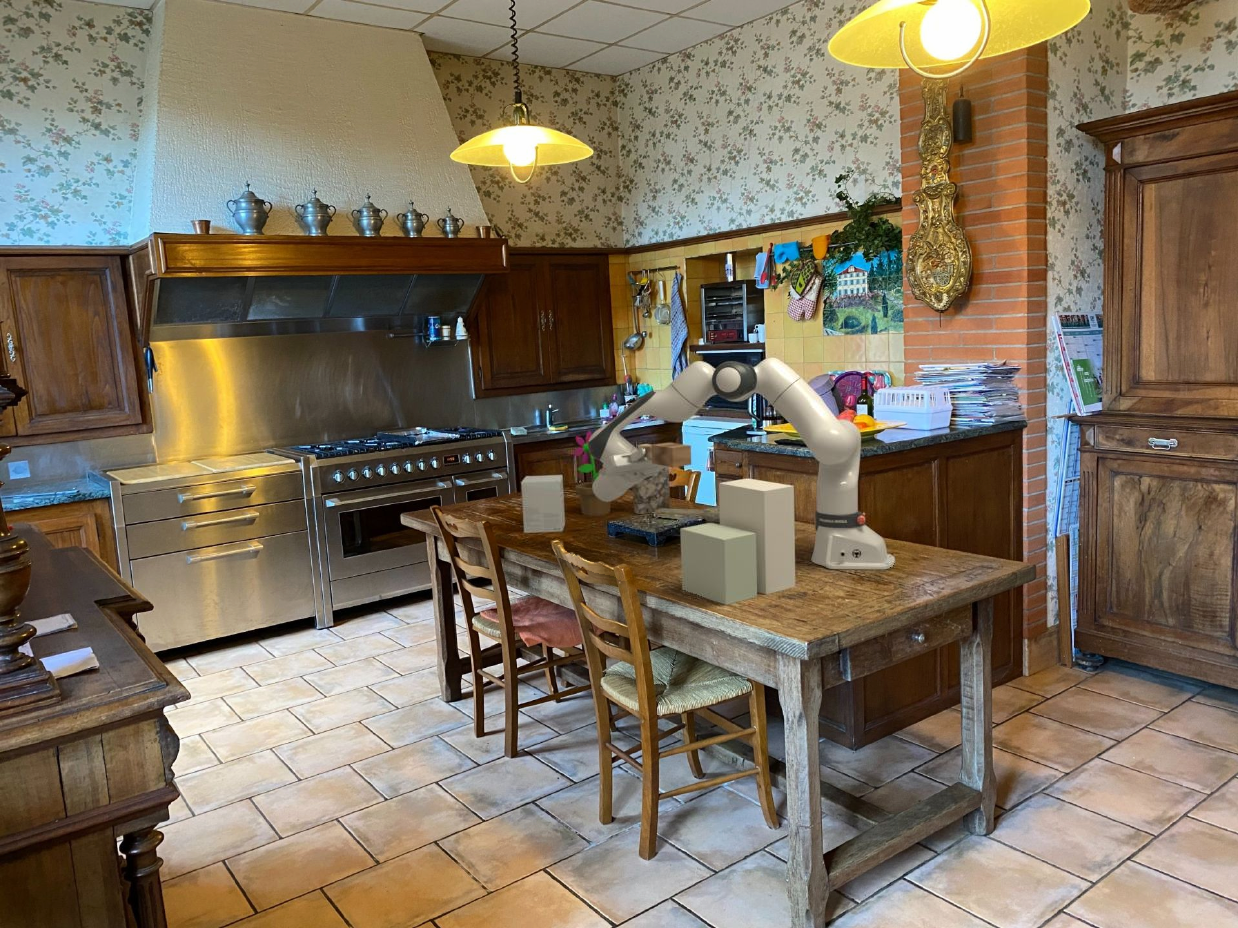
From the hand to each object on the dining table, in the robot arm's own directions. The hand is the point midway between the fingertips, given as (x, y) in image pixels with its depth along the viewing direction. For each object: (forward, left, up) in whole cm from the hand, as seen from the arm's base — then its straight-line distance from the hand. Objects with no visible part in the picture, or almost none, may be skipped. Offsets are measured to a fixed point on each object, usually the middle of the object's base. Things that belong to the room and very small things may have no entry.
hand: (651, 449), depth 246 cm
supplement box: (+56, -45, -34) cm, 80 cm away
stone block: (+29, -78, -34) cm, 90 cm away
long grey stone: (+8, -70, -35) cm, 78 cm away
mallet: (-3, +2, -3) cm, 5 cm away
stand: (-26, +10, -34) cm, 44 cm away
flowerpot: (+49, -73, -34) cm, 95 cm away
